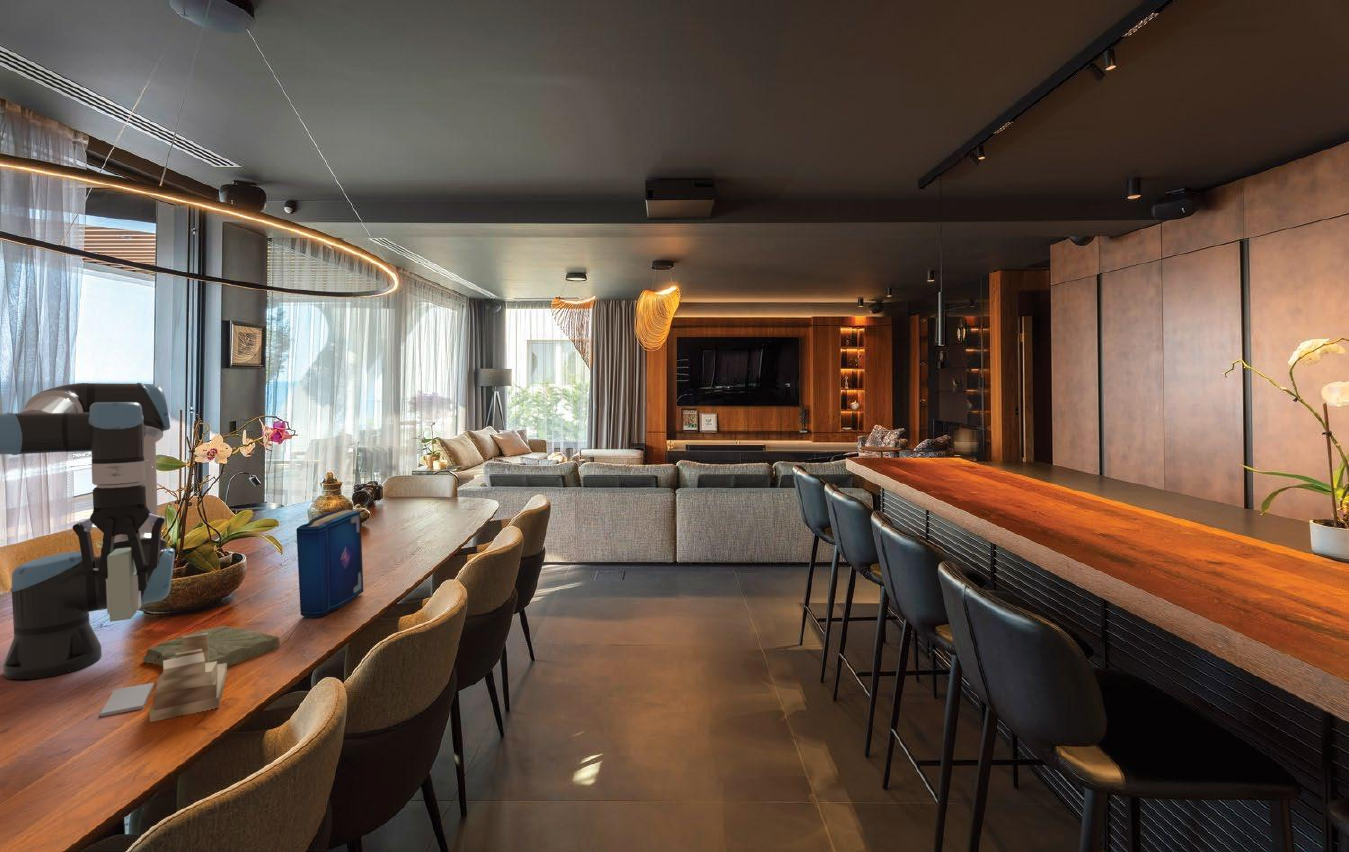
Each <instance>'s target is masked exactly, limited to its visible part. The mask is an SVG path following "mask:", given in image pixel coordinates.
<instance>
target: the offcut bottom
mask: <svg viewBox="0 0 1349 852" xmlns="http://www.w3.org/2000/svg"><path fill="white" fill-rule="evenodd" d="M216 696H217V676H216V678H215V680H214V682H213V684H212V685H207V686H201V687H194V688H188V689H182V690H175V691H169V692H163V693H158V685H157V684H156V688H155V691H154V694H153V702H154V711H155V710H159V709H164V708H169V707H174V706H178V705H183V704H188V703H193V702H197V701H202V700H207V699H212V698H216Z"/></svg>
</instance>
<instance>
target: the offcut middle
mask: <svg viewBox="0 0 1349 852" xmlns="http://www.w3.org/2000/svg"><path fill="white" fill-rule="evenodd" d="M217 674H218V672H217V661H215V662H209V663H205V672H202V673H197V674H192V675H188V676H183V677H178V678H174V679H169V680H165V681H164V672H163V671H162V673H161V674H160V675H159V677H158V678H157V680H156V681H157V683H156V686H157V685H158V693H163V692H169V691H175V690H182V689H188V688H194V687H201V686H207V685H212V684H213V682H214V680H215V678H216V676H217Z"/></svg>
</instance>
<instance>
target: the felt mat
mask: <svg viewBox="0 0 1349 852" xmlns="http://www.w3.org/2000/svg"><path fill="white" fill-rule="evenodd" d="M154 686H155V682H149V683H144V684H137V685H132V686H128V687H122V688H115V689H114V690H113V692H112V693H111V695H110V696H109V698H108V700H107V702H106V703H105V705H104V706H103V708H102V710H101V711H100V713H99V716H100V717H101V718H102V717H106V716H107V717H108V716H111V715H116V714H121V713H126V712H132V711H137V710H142V709H144V708H145V706H146V703H147V702H148V699H149V697H150V695H151V693H152V691H153V688H154Z"/></svg>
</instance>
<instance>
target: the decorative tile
mask: <svg viewBox="0 0 1349 852" xmlns="http://www.w3.org/2000/svg"><path fill="white" fill-rule="evenodd" d="M201 633H208V649H209V662H215V661H217V665H218V664H224V663H227V668H229V667H231V666H233V664H234V665H236V664H239V663H241V662H243V661H246V660H249V659H252V658H254V657H257V656H260V655H262V654H265V653H267V652H271V651H272V650H275V649H277V648H279V647H280V637H279V636H276V635H271V634H268V633H264V632H262V631H261V632H260V631H253V630H247V629H244V628H239V627H238V628H237V627H231V626H228V625H219V626H216V627H213V628H207V629H201V630H199V631H195V632H192V633H188V634H187V635H185V636H188V635H195V634H201ZM183 636H184V635H181V636H179V637H177V638H176V637H175V638H174V639H170V640H166V641H163V642H160V643H159V644H156V645H155V646H153V647H149V648H147V650H146V655H144V656H143V658H142V661H143V662H144V663H145V662H146V664H148V663H153V664H152V665H157V664H158V666H160V667H161V668H163V661H164V660H169V659H174V658H175V654H176V653H179V652H183Z"/></svg>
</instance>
